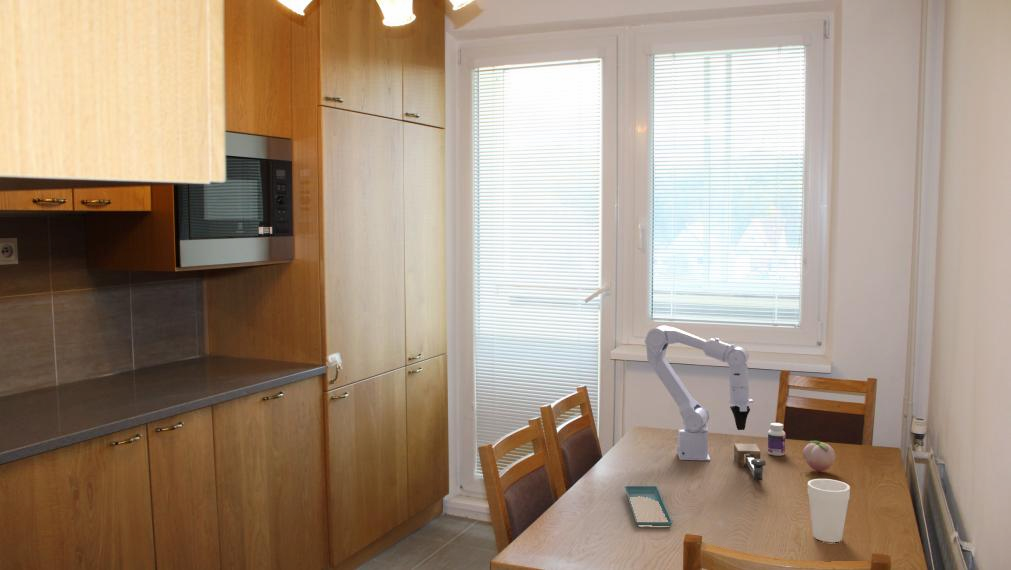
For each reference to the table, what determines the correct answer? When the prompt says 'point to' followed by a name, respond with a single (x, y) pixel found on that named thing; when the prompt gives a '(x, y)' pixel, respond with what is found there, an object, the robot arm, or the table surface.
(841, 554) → the table surface
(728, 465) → the table surface
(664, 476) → the table surface
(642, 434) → the table surface
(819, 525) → the foam cup
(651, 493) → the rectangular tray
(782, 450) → the pill bottle
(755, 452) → the wooden mallet head
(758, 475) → the handle rod
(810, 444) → the decorative fruit
